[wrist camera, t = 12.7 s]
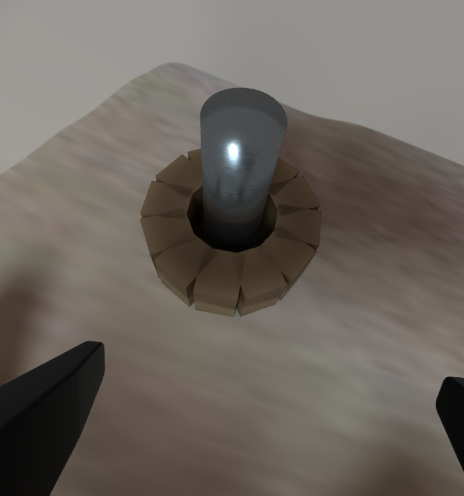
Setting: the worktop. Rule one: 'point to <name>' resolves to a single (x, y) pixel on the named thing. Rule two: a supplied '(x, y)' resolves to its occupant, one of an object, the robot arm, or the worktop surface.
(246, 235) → the tall steel post
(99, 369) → the robot arm
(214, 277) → the segmented wooden ring
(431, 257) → the worktop surface
